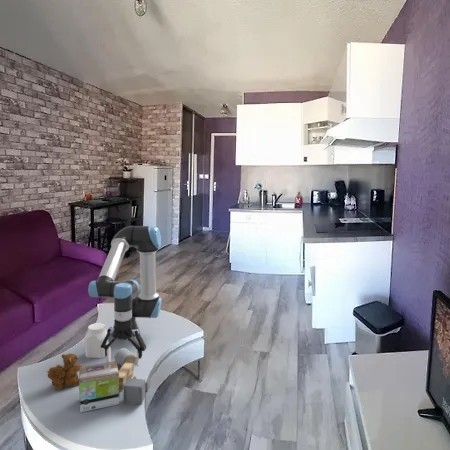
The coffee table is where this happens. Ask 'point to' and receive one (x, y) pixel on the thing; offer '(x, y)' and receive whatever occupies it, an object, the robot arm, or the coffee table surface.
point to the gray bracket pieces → (135, 390)
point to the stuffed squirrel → (65, 372)
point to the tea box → (98, 386)
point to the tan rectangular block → (125, 374)
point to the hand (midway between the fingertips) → (123, 363)
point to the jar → (95, 340)
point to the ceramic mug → (125, 357)
